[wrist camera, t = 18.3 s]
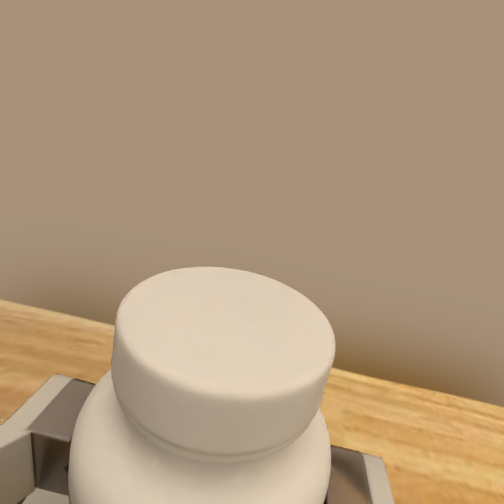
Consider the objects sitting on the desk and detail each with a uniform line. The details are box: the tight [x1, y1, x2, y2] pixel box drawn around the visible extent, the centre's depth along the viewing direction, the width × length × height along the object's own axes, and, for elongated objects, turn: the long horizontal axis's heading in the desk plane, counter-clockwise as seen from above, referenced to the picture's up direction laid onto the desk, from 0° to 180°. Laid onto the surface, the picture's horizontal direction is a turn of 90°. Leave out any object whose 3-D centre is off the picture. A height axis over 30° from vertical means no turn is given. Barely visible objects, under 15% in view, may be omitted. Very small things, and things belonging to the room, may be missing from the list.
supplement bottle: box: [68, 267, 335, 504], centre depth 8 cm, size 5×5×10 cm
